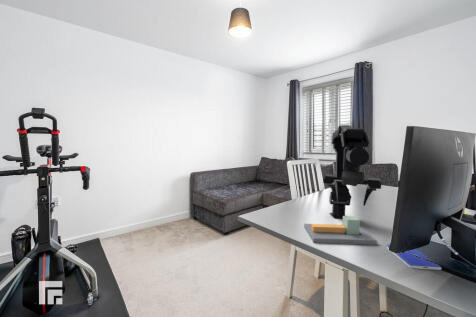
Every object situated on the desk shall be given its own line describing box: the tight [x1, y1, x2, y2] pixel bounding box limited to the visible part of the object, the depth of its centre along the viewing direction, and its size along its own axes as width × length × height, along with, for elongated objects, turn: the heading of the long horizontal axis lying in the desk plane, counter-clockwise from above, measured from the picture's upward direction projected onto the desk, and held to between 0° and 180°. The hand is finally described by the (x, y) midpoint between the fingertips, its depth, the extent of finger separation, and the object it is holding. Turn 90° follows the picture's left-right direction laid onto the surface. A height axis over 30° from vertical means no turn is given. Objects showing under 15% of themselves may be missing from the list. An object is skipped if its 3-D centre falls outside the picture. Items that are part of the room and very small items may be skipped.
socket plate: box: [303, 223, 378, 246], centre depth 84 cm, size 14×22×2 cm, turn 86°
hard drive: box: [385, 244, 442, 271], centre depth 68 cm, size 2×8×12 cm
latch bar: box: [310, 223, 346, 233], centre depth 84 cm, size 3×12×2 cm, turn 86°
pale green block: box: [341, 215, 361, 235], centre depth 83 cm, size 4×4×7 cm
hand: (349, 203), depth 81 cm, fingers open, 9 cm apart
